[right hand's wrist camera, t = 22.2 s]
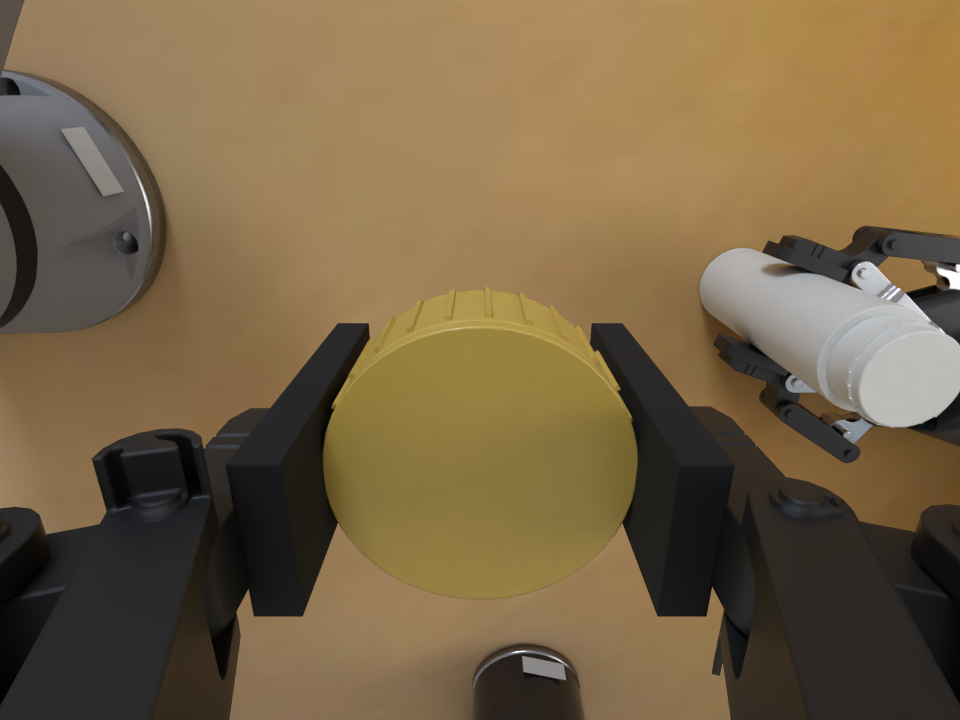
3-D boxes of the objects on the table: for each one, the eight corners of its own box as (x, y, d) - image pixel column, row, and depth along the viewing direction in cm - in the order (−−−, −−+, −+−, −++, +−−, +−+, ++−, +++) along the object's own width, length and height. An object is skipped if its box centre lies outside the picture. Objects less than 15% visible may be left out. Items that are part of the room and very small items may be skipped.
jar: (683, 288, 37) (823, 387, 22) (741, 231, 36) (932, 294, 21) (731, 334, 38) (895, 458, 23) (789, 281, 37) (1003, 375, 22)
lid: (629, 292, 11) (668, 330, 9) (594, 528, 13) (618, 609, 11) (343, 278, 11) (307, 312, 9) (352, 518, 13) (325, 597, 11)
